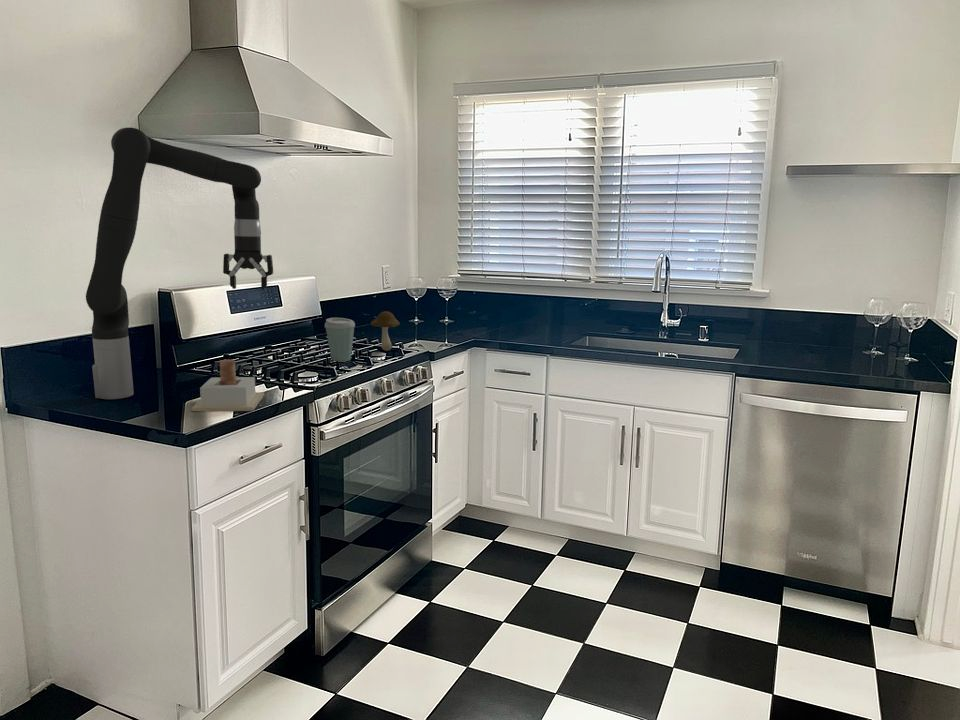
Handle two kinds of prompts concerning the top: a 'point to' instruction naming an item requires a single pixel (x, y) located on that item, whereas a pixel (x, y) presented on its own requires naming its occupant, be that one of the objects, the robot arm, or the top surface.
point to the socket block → (228, 395)
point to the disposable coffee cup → (340, 338)
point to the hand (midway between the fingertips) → (248, 288)
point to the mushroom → (385, 327)
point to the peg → (227, 372)
